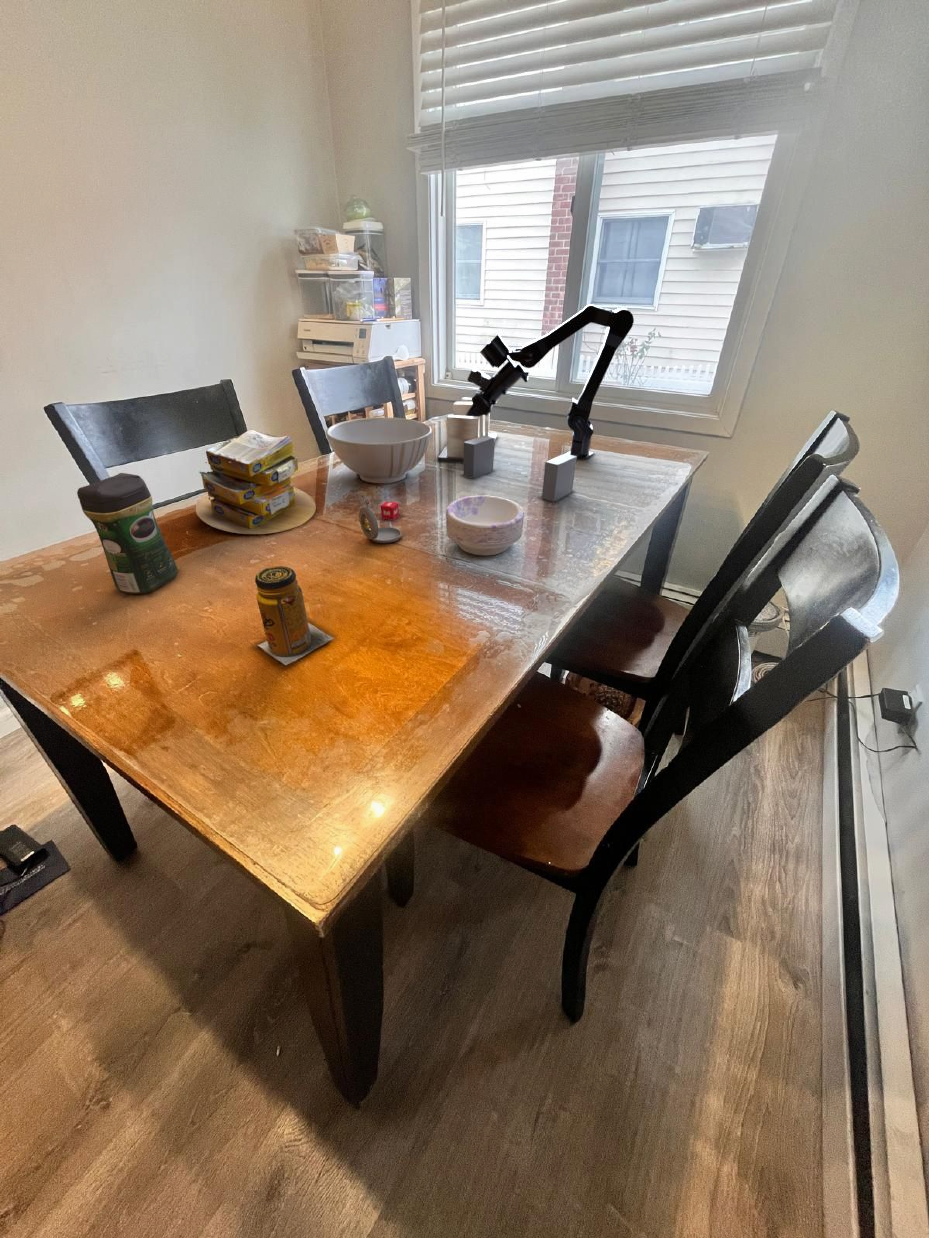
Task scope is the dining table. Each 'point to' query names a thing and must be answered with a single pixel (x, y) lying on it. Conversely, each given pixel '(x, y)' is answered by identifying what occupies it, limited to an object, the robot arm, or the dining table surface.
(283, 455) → the stacked yellow boxes
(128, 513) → the coffee jar
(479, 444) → the gray bookends
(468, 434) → the book rack
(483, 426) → the white book
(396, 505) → the dice
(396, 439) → the decorative bowl
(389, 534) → the pocket watch
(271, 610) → the condiment
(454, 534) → the cream and purple bowl
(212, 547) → the dining table surface
